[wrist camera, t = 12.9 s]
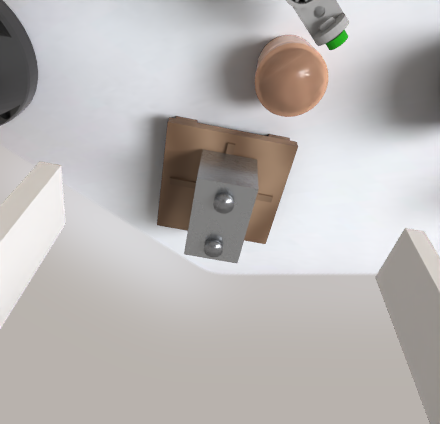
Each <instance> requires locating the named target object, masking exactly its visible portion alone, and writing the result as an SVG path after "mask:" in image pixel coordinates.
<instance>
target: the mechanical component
mask: <svg viewBox="0 0 440 424" xmlns="http://www.w3.org/2000/svg"><path fill="white" fill-rule="evenodd" d="M286 1H287V2H288V3H289V4H290V5H291V6H293V8H294V10H295V11H296V13H297V14H298V16H299V17H300V19H301V21H302V22H303V24H304V25H305V27H306V28H307V30H308V32H309V33H310V35H311V36H312V38H313V39H314V41H315V43H316V44H317V45H318V46H320V45H323V44H326V45H327V47H328V48H329V50H333V49H335V48H337V47H339V46H340V45H341V44H343V43H344V42H345V41H346V40H347V38H348V35H347V33H346V32H345V30H344V29H345V28H346V27H347V25H348V24H349V21H348V19H347V17H346V15H345V14H344V13H343V12H342V10H341V8H340V6H339V5H338V3H337V1H336V0H286Z"/></svg>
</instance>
